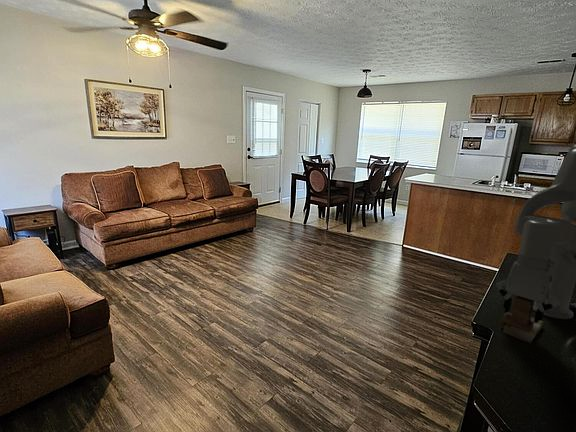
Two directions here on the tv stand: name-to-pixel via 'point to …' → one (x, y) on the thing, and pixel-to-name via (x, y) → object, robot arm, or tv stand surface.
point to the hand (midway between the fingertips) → (521, 315)
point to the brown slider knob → (520, 314)
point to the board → (523, 331)
